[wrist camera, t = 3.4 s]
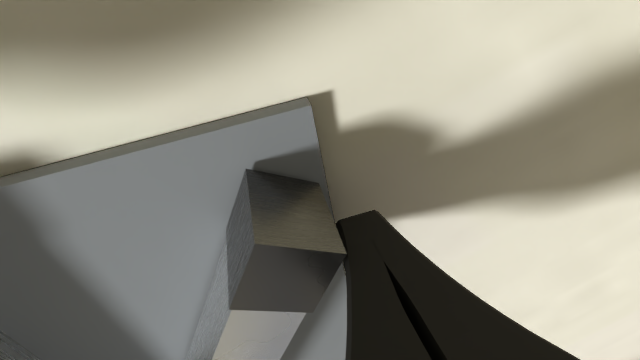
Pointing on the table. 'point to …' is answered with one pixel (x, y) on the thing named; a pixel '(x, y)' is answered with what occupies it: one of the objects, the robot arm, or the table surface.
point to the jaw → (268, 269)
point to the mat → (147, 240)
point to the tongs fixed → (13, 349)
